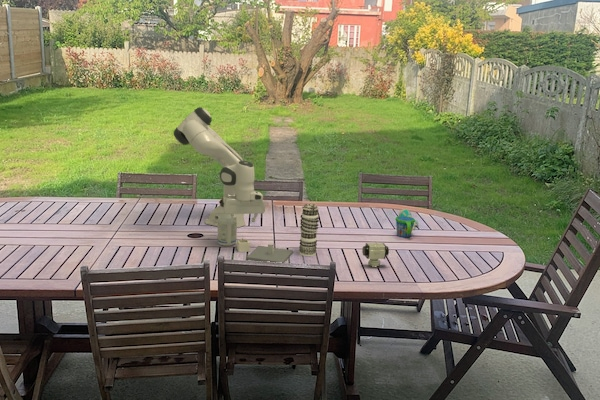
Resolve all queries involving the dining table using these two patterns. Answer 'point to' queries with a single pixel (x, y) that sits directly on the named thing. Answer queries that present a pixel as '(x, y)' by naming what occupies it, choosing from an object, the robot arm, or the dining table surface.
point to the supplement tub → (226, 230)
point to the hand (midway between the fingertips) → (243, 222)
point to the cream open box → (243, 245)
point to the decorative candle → (308, 230)
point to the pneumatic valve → (375, 253)
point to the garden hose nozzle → (406, 213)
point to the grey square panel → (269, 254)
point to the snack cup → (404, 225)
